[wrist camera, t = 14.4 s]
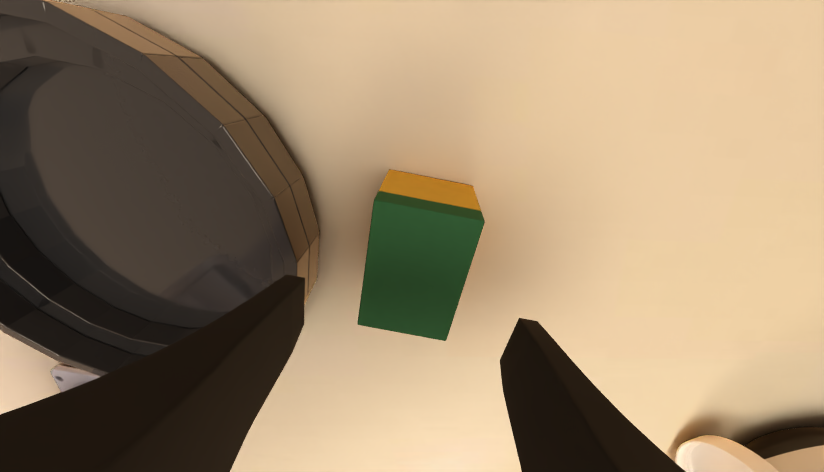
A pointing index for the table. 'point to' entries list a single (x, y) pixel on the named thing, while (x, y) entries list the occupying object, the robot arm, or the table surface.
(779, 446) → the spread jar
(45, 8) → the bowl
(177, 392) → the robot arm
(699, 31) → the table surface
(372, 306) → the sponge
